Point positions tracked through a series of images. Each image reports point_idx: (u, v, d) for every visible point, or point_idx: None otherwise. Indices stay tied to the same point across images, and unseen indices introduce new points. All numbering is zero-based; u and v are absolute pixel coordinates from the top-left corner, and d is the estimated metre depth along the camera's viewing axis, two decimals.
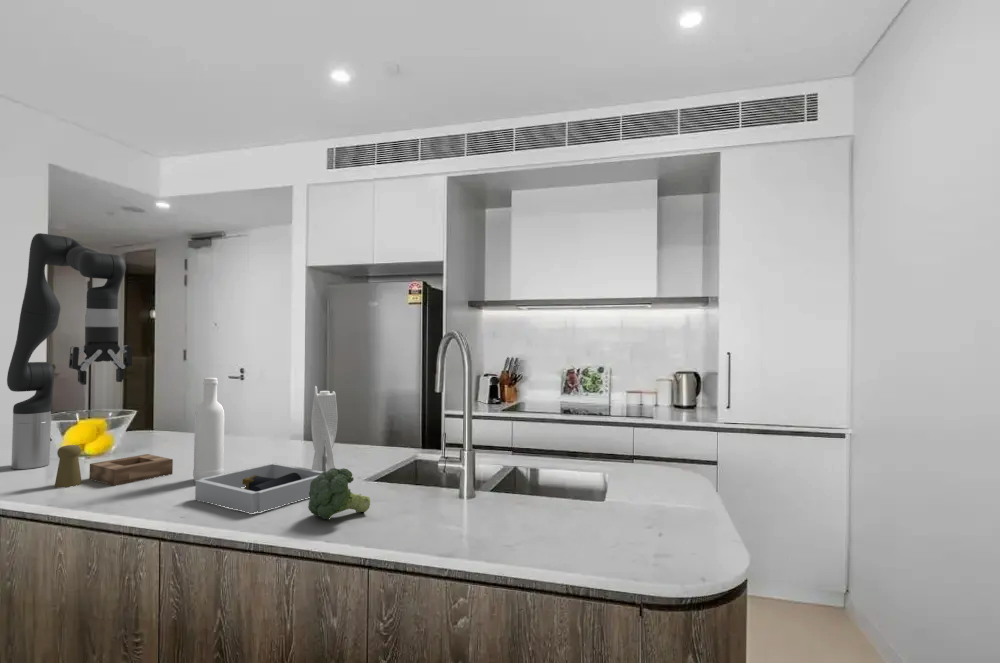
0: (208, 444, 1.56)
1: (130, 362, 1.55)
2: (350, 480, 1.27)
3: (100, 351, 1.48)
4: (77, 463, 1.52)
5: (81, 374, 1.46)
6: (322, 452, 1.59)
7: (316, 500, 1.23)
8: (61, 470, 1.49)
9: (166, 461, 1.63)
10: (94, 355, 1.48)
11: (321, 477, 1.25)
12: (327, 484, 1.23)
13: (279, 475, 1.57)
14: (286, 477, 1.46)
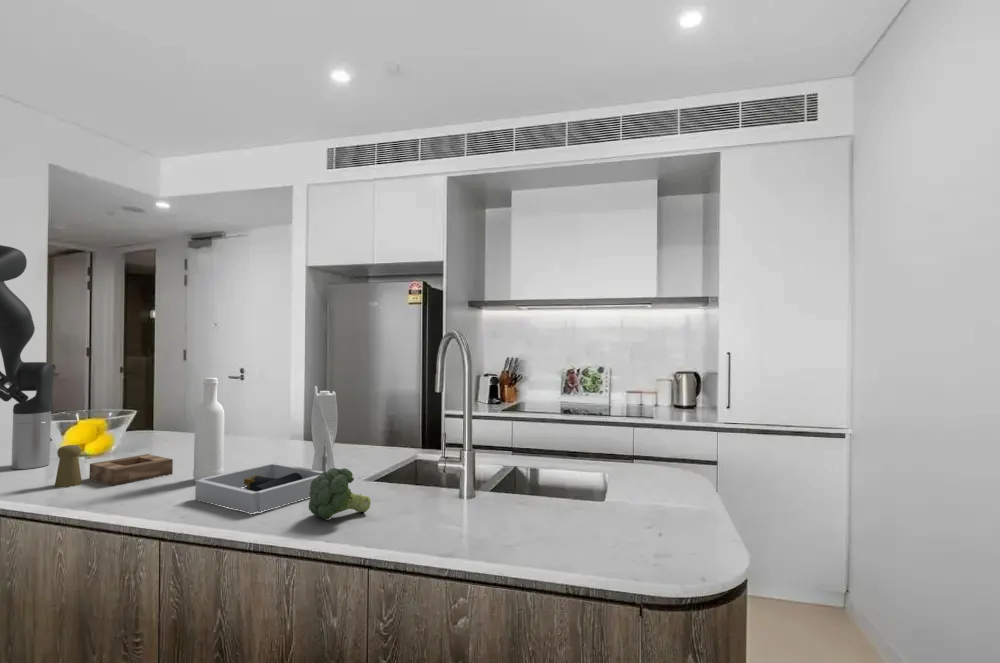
0: (208, 444, 1.56)
1: (6, 390, 1.34)
2: (350, 480, 1.27)
3: None
4: (77, 463, 1.52)
5: None
6: (322, 452, 1.59)
7: (316, 500, 1.23)
8: (61, 470, 1.49)
9: (166, 461, 1.63)
10: None
11: (321, 477, 1.25)
12: (327, 484, 1.23)
13: (279, 475, 1.57)
14: (287, 477, 1.45)
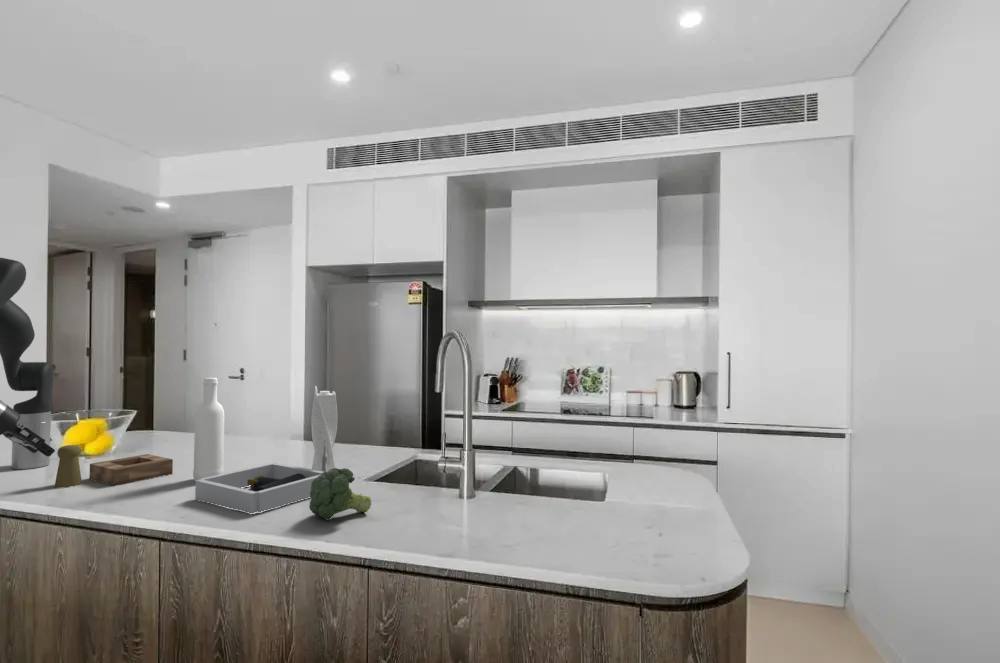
0: (208, 444, 1.56)
1: (33, 446, 1.40)
2: (351, 480, 1.27)
3: (7, 437, 1.41)
4: (77, 463, 1.52)
5: (25, 445, 1.47)
6: (322, 452, 1.59)
7: (317, 500, 1.23)
8: (61, 470, 1.49)
9: (166, 461, 1.63)
10: (9, 438, 1.42)
11: (322, 477, 1.25)
12: (328, 484, 1.23)
13: (279, 475, 1.57)
14: (291, 478, 1.45)
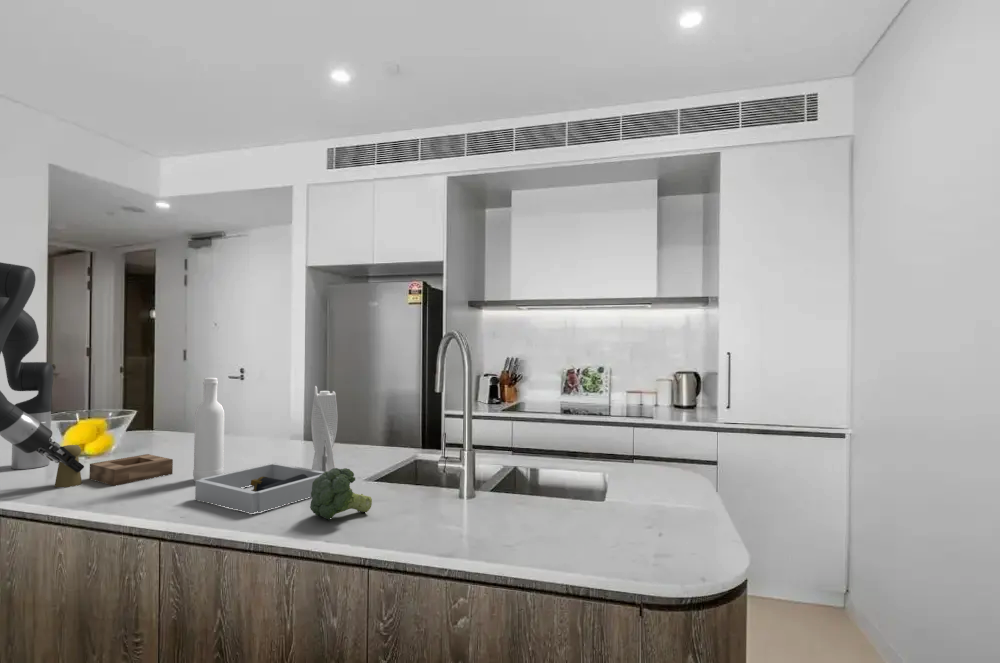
0: (208, 444, 1.56)
1: (65, 463, 1.47)
2: (352, 480, 1.27)
3: (39, 453, 1.47)
4: None
5: None
6: (322, 452, 1.59)
7: (318, 500, 1.23)
8: (61, 470, 1.49)
9: (166, 461, 1.63)
10: (43, 455, 1.48)
11: (323, 477, 1.25)
12: (329, 484, 1.23)
13: (279, 475, 1.57)
14: (294, 479, 1.44)
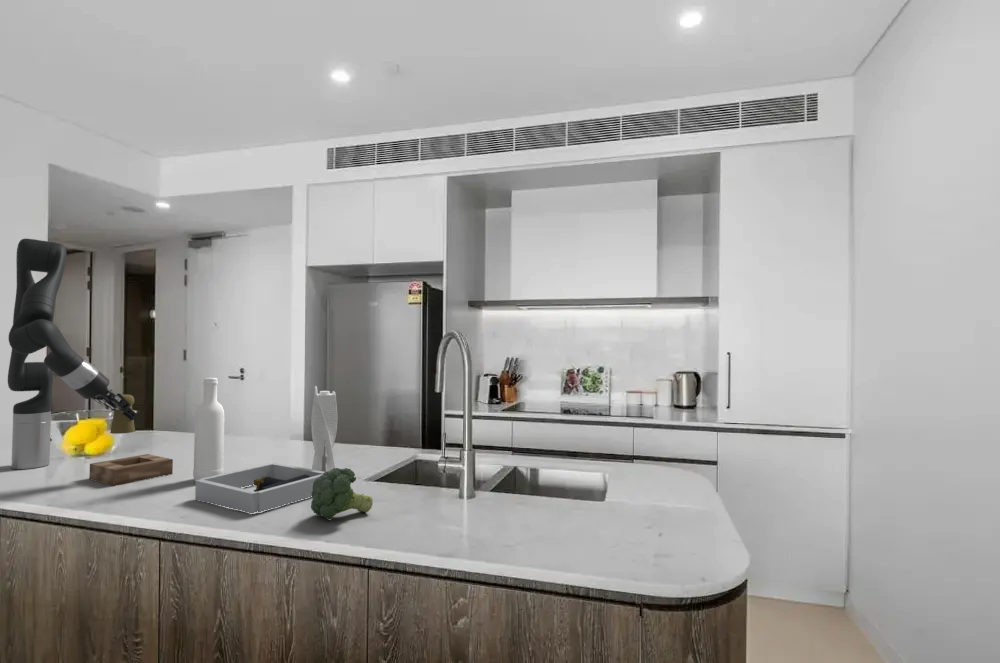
0: (208, 444, 1.56)
1: (121, 409, 1.55)
2: (353, 480, 1.27)
3: (97, 400, 1.55)
4: None
5: None
6: (322, 452, 1.59)
7: (319, 500, 1.23)
8: (117, 417, 1.57)
9: (166, 461, 1.63)
10: (100, 402, 1.56)
11: (324, 477, 1.25)
12: (329, 484, 1.23)
13: (279, 475, 1.57)
14: (296, 479, 1.44)
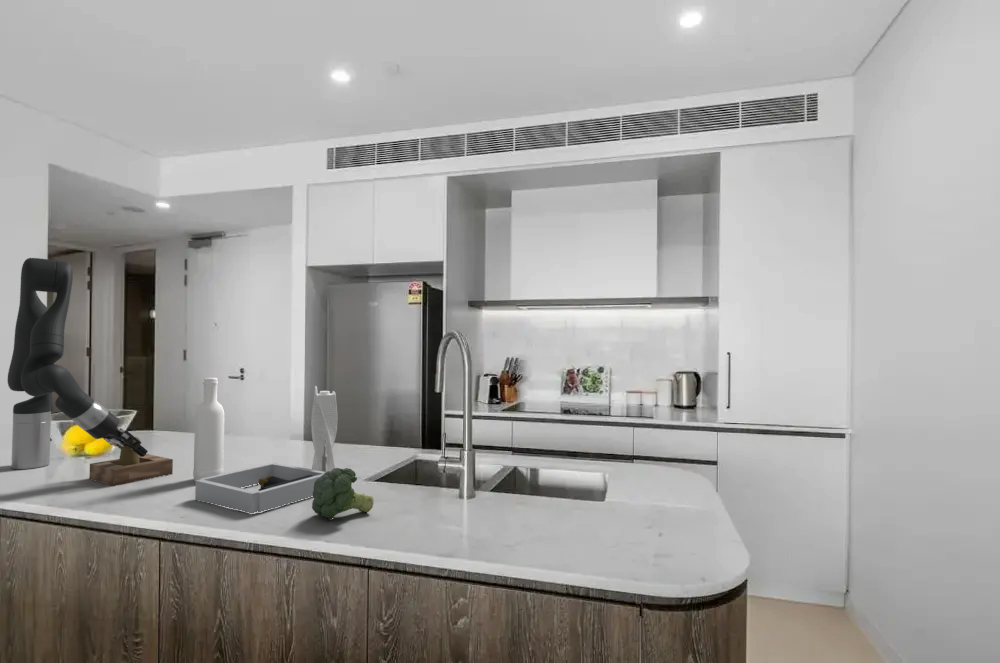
0: (208, 444, 1.56)
1: (132, 447, 1.56)
2: (354, 480, 1.27)
3: (107, 439, 1.57)
4: (137, 454, 1.61)
5: None
6: (322, 452, 1.59)
7: (320, 500, 1.23)
8: (123, 460, 1.58)
9: (166, 461, 1.63)
10: (108, 440, 1.58)
11: (325, 477, 1.25)
12: (330, 483, 1.23)
13: (279, 475, 1.57)
14: (300, 479, 1.43)
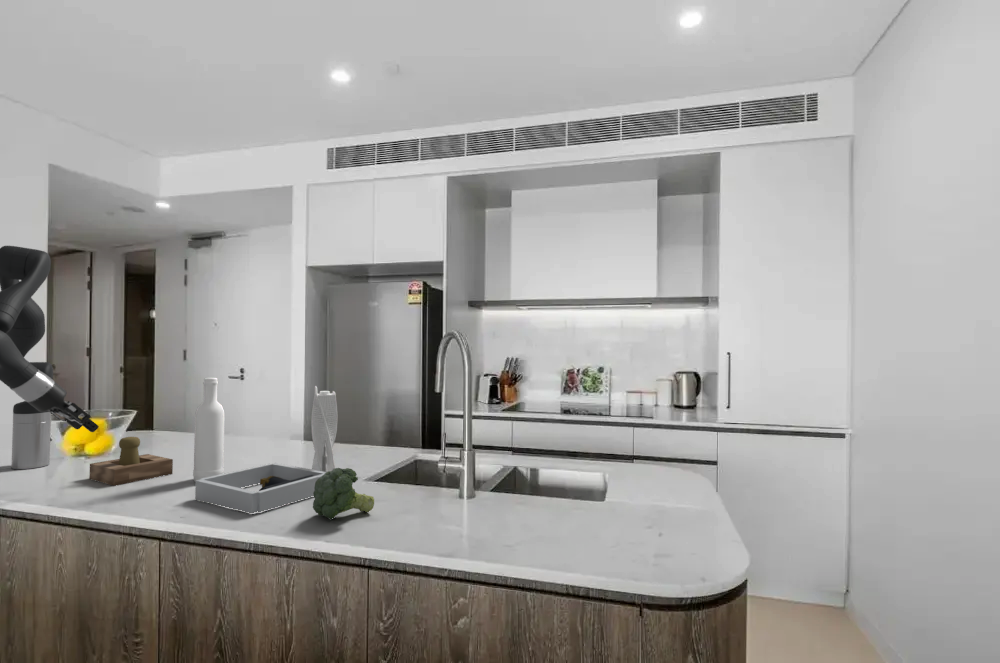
0: (208, 444, 1.56)
1: (80, 421, 1.44)
2: (354, 480, 1.27)
3: (53, 412, 1.45)
4: (137, 454, 1.61)
5: None
6: (322, 452, 1.59)
7: (321, 500, 1.23)
8: (123, 460, 1.58)
9: (166, 461, 1.63)
10: (55, 414, 1.47)
11: (326, 477, 1.25)
12: (331, 483, 1.23)
13: (279, 475, 1.57)
14: (301, 479, 1.43)
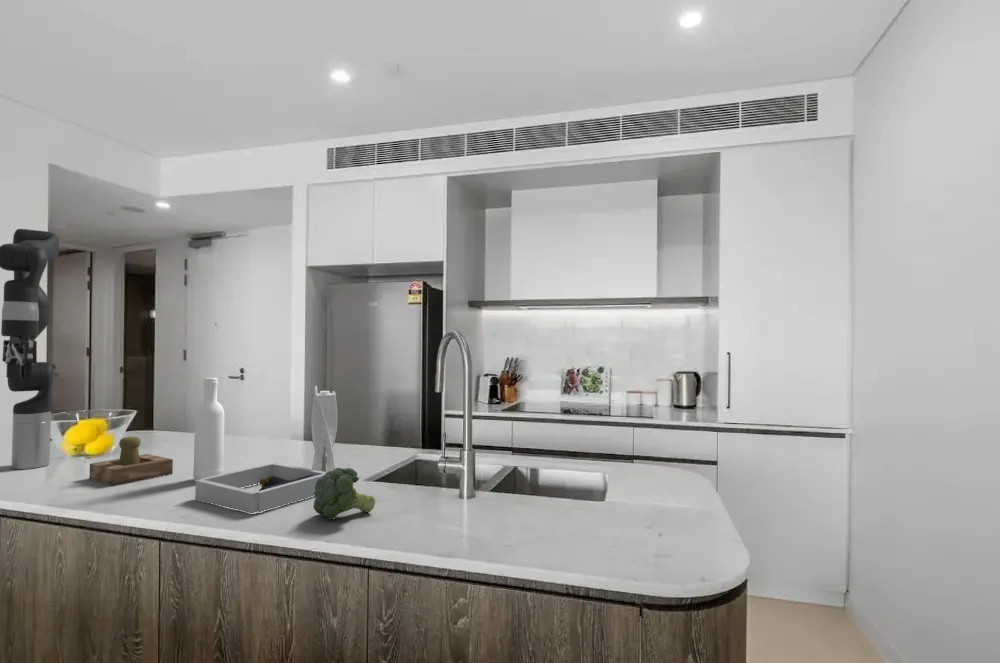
0: (208, 444, 1.56)
1: (24, 359, 1.42)
2: (355, 480, 1.27)
3: (9, 345, 1.45)
4: (137, 454, 1.61)
5: None
6: (322, 452, 1.59)
7: (322, 500, 1.23)
8: (123, 460, 1.58)
9: (166, 461, 1.63)
10: (7, 349, 1.46)
11: (326, 477, 1.25)
12: (332, 483, 1.23)
13: (279, 475, 1.57)
14: (300, 479, 1.43)
